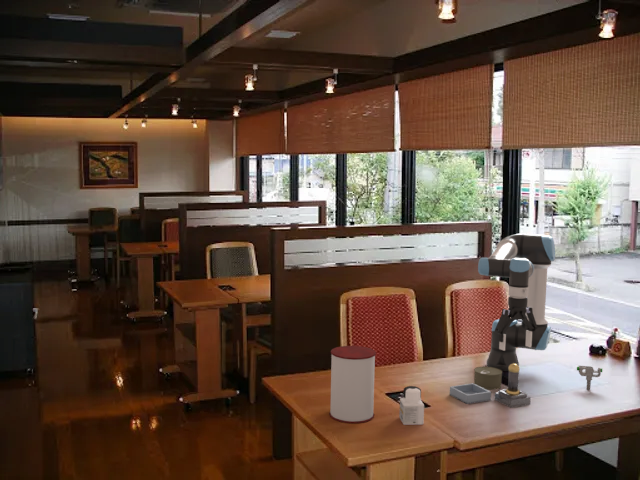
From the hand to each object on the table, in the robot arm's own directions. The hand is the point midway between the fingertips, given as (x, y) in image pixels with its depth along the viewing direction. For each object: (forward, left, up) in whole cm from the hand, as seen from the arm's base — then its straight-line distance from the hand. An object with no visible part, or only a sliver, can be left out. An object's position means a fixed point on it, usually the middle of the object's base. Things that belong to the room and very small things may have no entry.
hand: (515, 348), depth 278 cm
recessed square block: (0, 0, -23) cm, 23 cm away
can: (-21, +4, -23) cm, 32 cm away
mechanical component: (0, +42, -23) cm, 48 cm away
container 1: (-12, -68, -23) cm, 73 cm away
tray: (-11, -13, -23) cm, 28 cm away
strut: (0, 0, -20) cm, 20 cm away
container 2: (+2, -50, -23) cm, 55 cm away
